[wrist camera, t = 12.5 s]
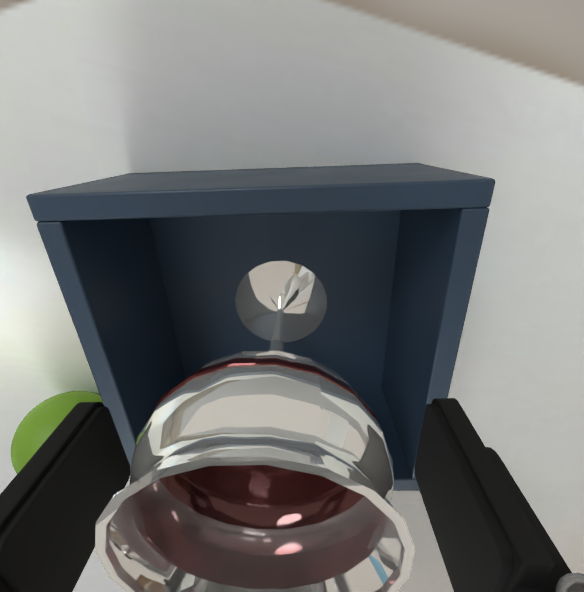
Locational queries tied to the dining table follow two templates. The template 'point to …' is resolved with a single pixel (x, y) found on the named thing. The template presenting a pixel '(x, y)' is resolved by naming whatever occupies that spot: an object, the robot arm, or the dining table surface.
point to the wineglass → (260, 470)
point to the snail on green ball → (44, 424)
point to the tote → (261, 249)
